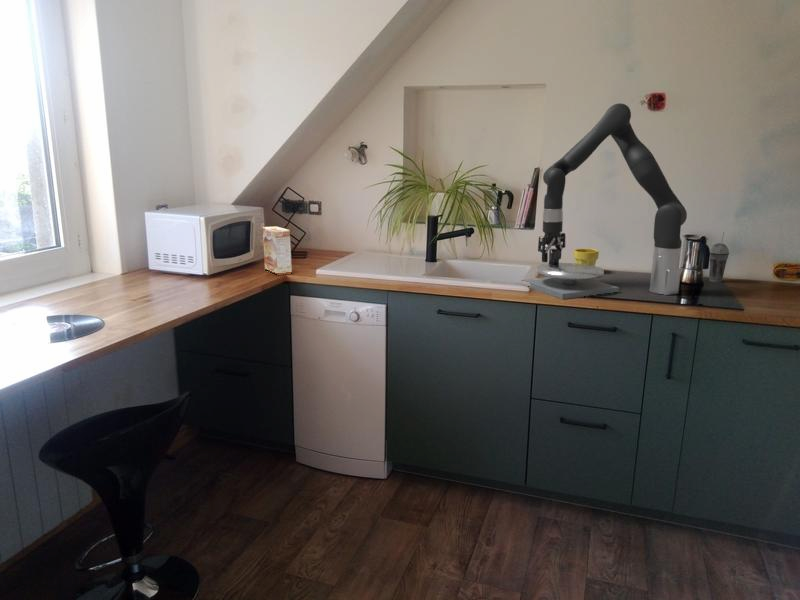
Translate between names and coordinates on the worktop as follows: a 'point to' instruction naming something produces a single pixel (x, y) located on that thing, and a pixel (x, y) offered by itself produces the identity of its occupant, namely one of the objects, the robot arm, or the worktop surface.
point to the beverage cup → (718, 261)
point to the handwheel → (567, 269)
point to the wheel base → (570, 287)
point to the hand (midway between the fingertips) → (551, 260)
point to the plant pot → (586, 256)
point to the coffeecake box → (277, 249)
